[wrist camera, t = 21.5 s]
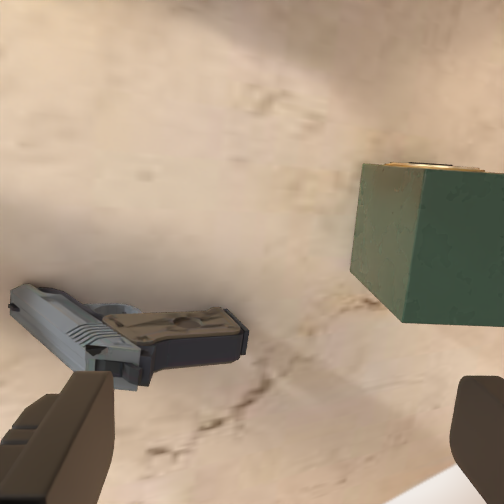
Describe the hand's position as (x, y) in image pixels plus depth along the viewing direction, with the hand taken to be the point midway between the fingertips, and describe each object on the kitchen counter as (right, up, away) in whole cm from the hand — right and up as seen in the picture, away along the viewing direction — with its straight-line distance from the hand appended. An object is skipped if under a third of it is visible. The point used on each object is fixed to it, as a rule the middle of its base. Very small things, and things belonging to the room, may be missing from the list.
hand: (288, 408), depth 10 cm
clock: (+10, +1, +18) cm, 20 cm away
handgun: (-10, -1, +22) cm, 24 cm away
